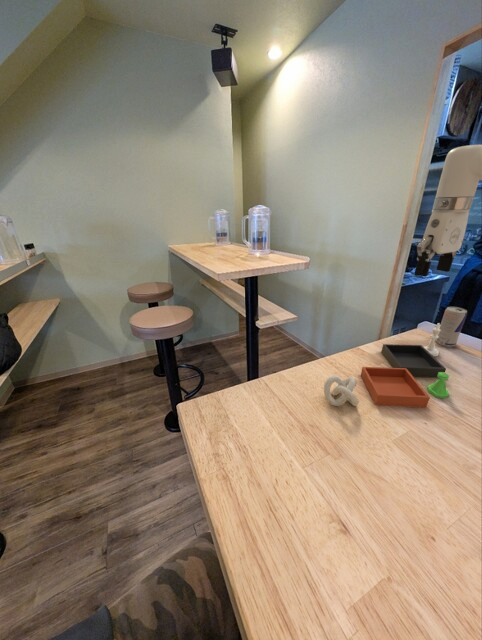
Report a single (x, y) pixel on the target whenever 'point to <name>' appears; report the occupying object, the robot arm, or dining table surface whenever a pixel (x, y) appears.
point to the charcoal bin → (412, 360)
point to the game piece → (439, 386)
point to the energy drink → (451, 326)
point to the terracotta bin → (394, 387)
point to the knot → (340, 390)
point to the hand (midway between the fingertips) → (431, 273)
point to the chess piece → (433, 341)
